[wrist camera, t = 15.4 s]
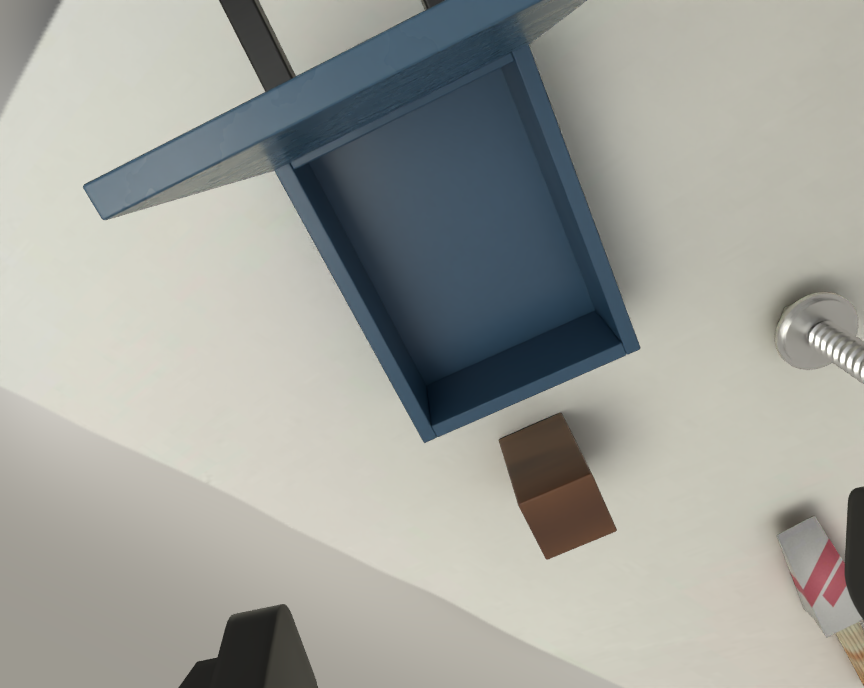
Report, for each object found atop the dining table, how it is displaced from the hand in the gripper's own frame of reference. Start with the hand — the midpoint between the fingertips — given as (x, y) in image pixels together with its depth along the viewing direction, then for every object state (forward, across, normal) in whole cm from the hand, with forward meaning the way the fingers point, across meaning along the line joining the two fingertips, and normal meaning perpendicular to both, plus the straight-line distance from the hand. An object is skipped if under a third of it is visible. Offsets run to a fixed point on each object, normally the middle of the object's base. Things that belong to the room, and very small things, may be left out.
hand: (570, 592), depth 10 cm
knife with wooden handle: (+31, -23, +36) cm, 53 cm away
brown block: (+31, -4, +18) cm, 36 cm away
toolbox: (+31, -1, +3) cm, 31 cm away
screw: (+31, -21, +12) cm, 39 cm away
